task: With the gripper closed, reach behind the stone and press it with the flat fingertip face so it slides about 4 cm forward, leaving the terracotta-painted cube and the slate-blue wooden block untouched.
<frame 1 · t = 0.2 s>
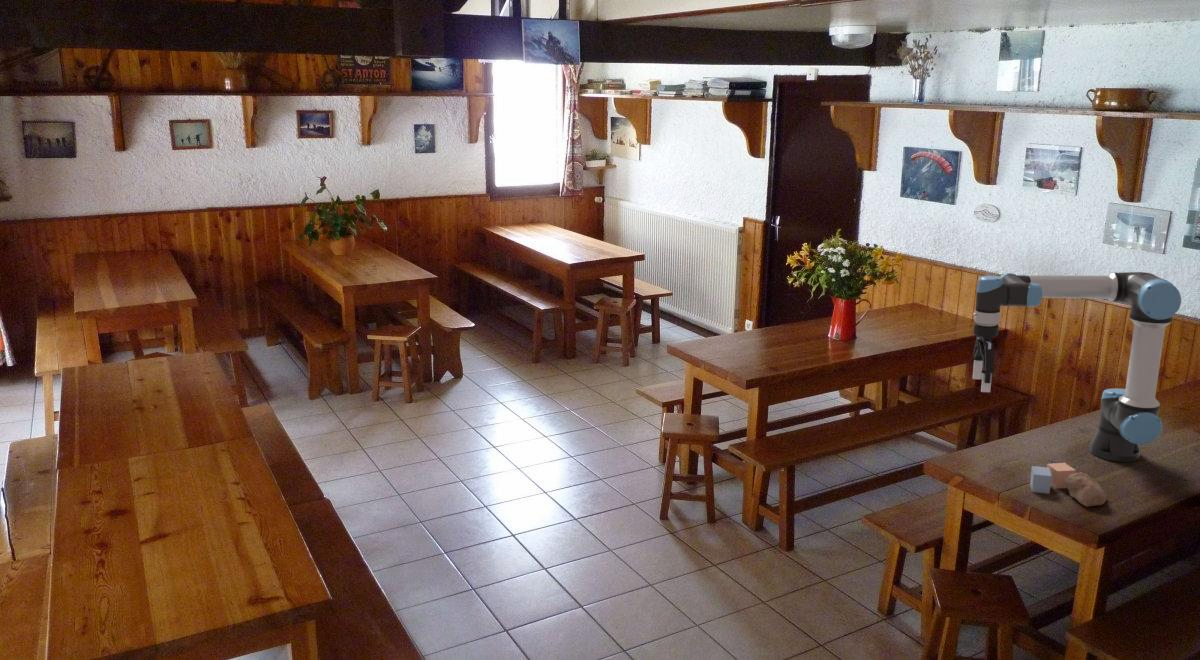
hand: (981, 385, 308), 28 cm above the table, fingers open, 13 cm apart
terracotta block: (1059, 484, 298), on the table
slate block: (1039, 488, 295), on the table
stone: (1087, 500, 287), on the table
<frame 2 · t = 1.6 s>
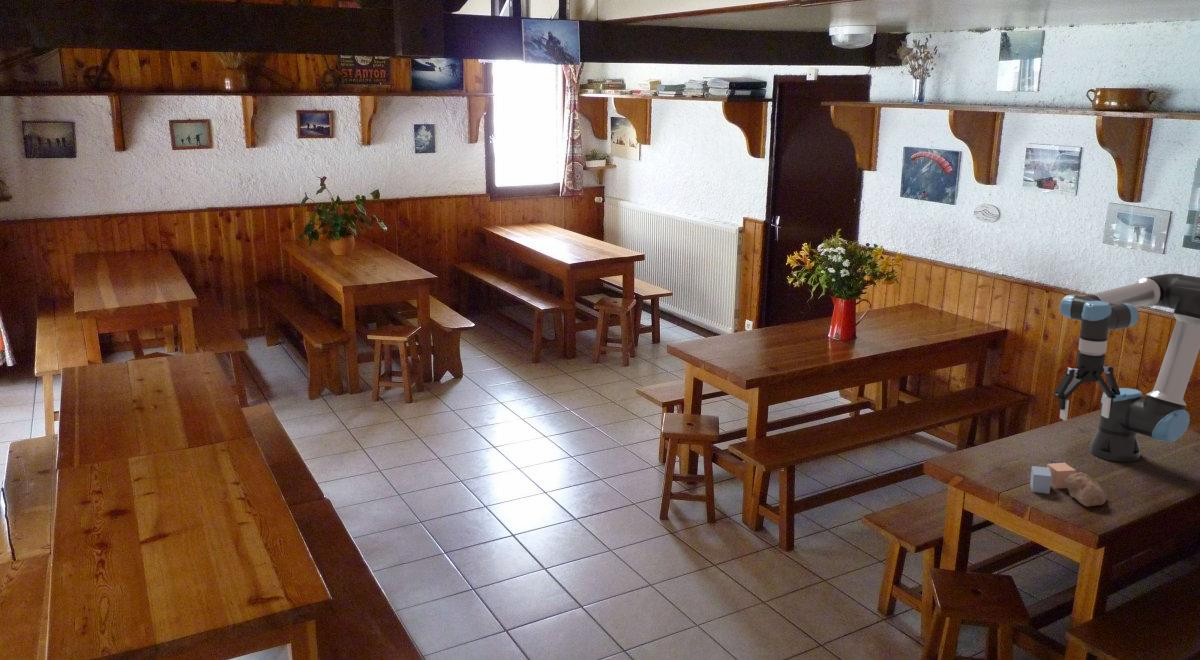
hand: (1084, 418, 287), 24 cm above the table, fingers open, 13 cm apart
nothing on the table moved.
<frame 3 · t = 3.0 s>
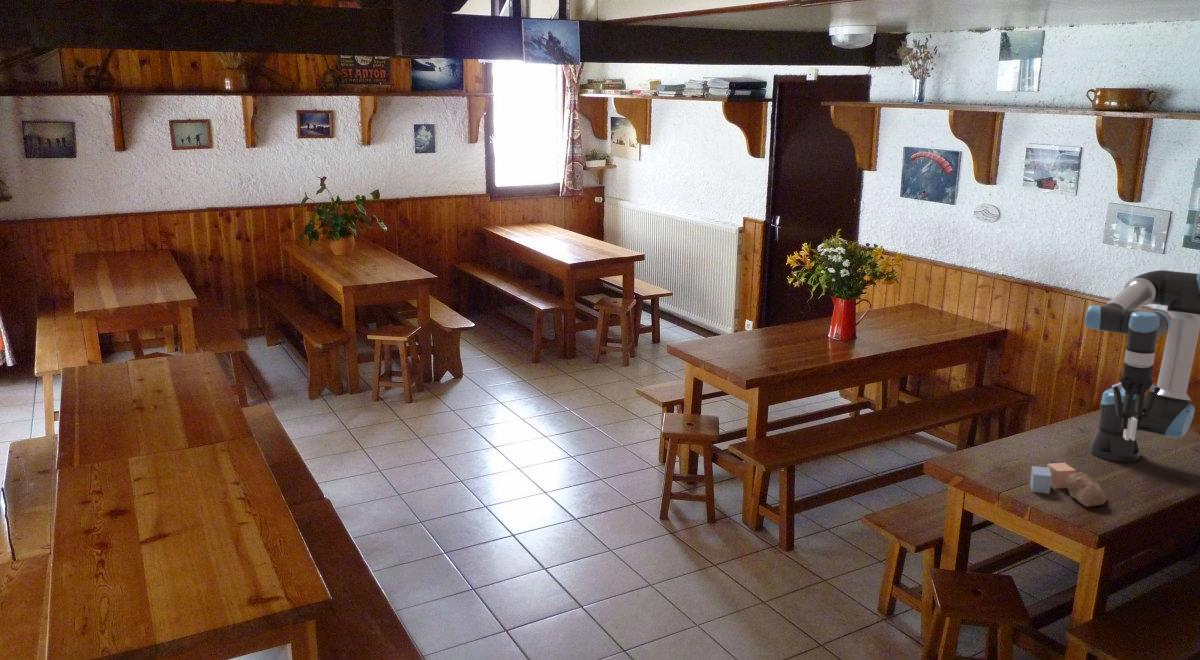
hand: (1128, 438, 280), 20 cm above the table, fingers closed
nothing on the table moved.
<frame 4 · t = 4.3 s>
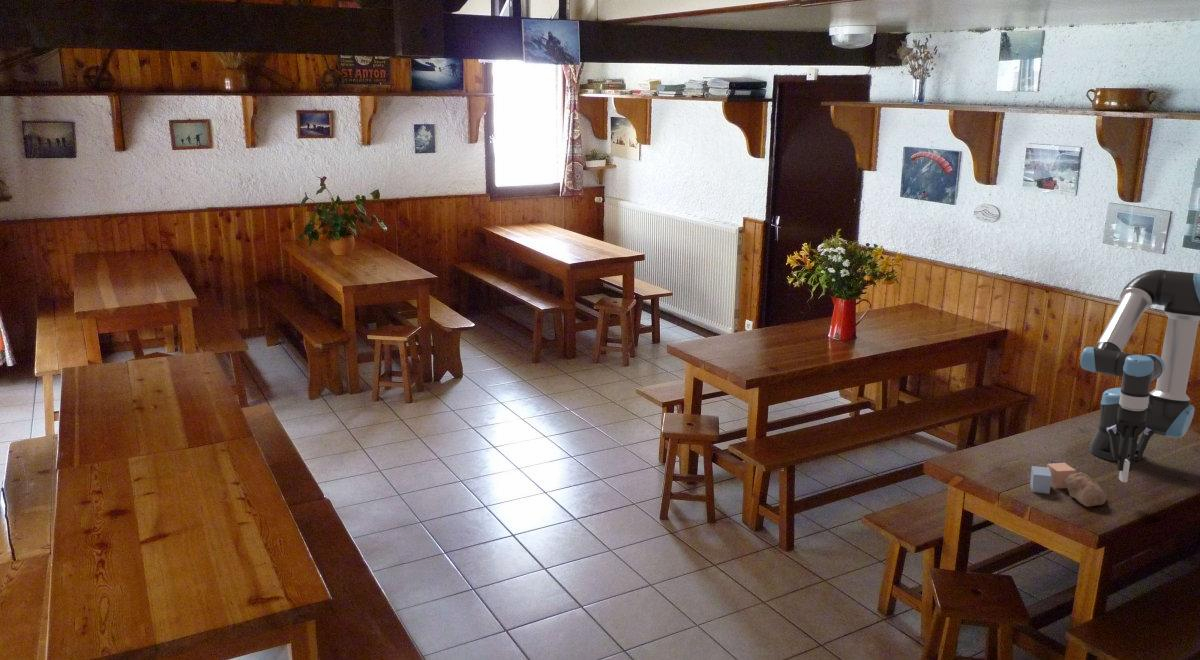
hand: (1122, 480, 283), 7 cm above the table, fingers closed
nothing on the table moved.
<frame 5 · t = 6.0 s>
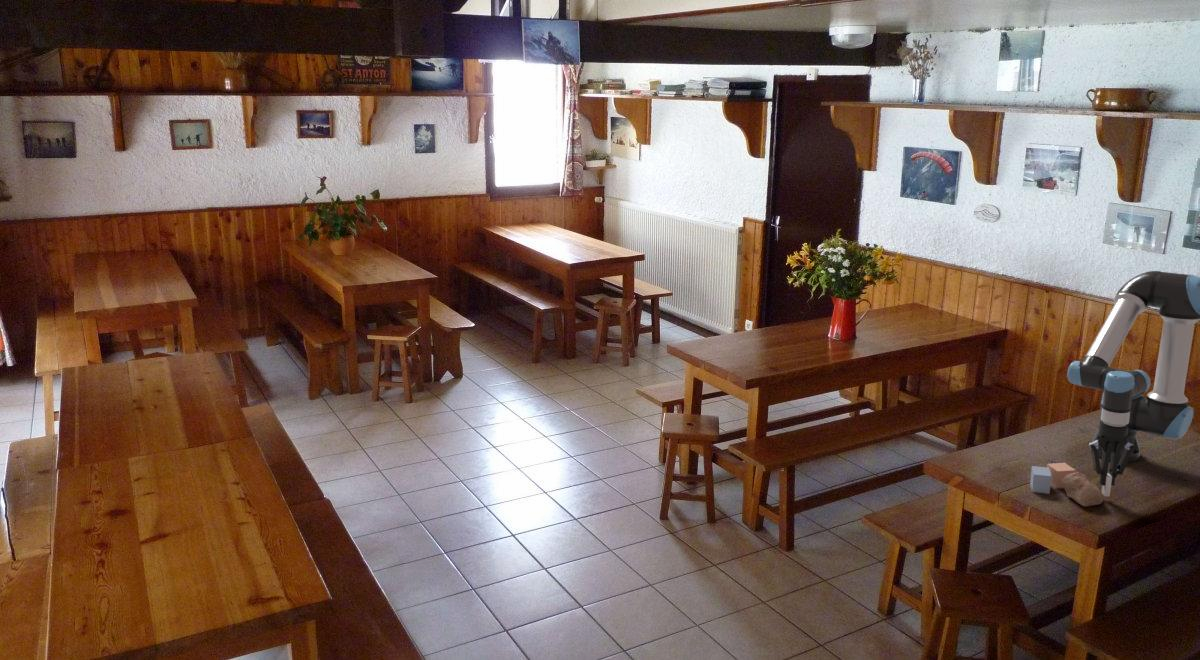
hand: (1105, 494, 285), 2 cm above the table, fingers closed
stone: (1084, 500, 286), on the table, touching gripper
everything else where it was.
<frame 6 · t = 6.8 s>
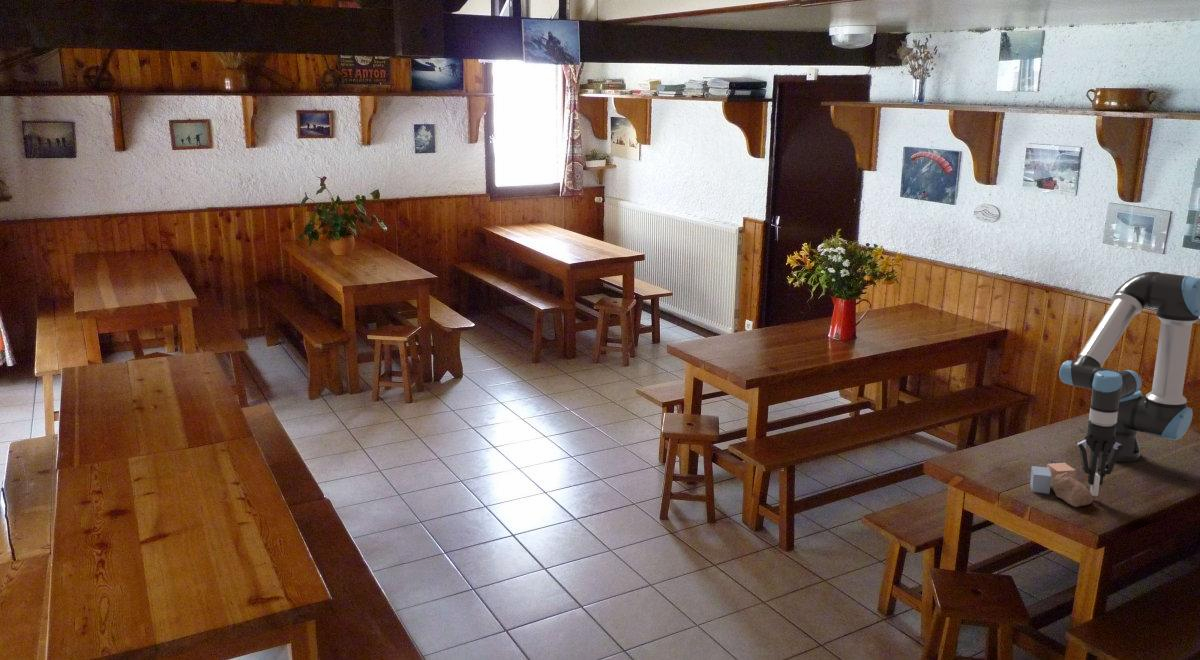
hand: (1093, 494, 286), 2 cm above the table, fingers closed
stone: (1073, 500, 287), on the table, touching gripper
everything else where it was.
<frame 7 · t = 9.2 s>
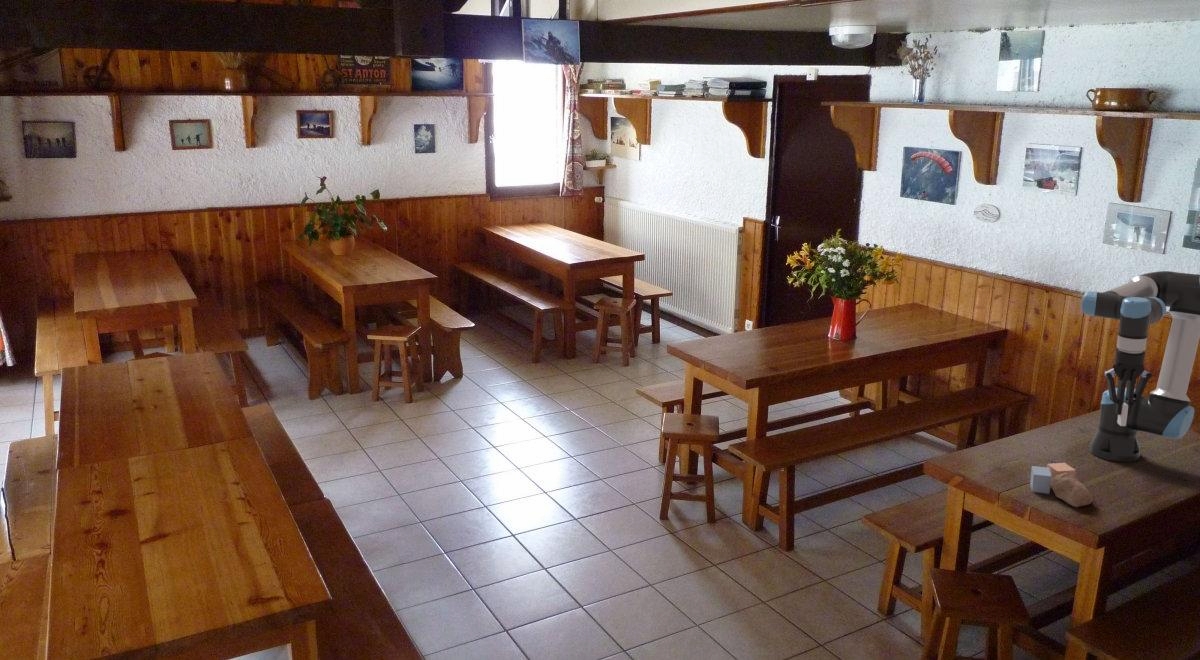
hand: (1121, 424, 281), 24 cm above the table, fingers closed
stone: (1073, 500, 287), on the table
everything else where it was.
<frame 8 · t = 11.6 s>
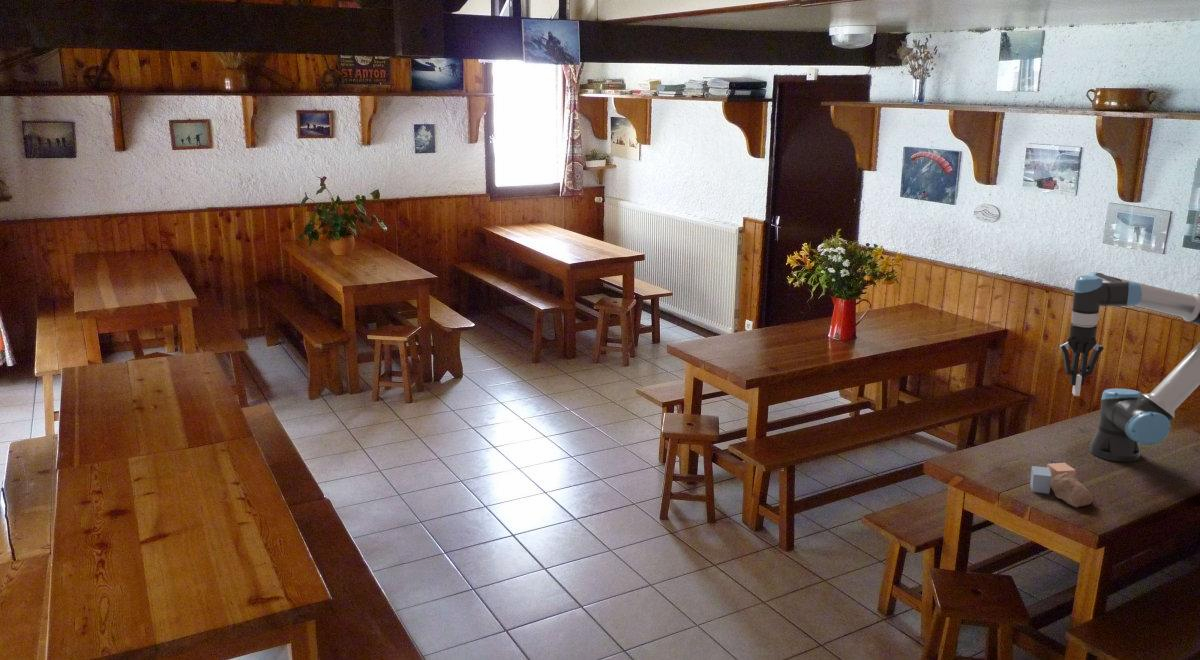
hand: (1075, 394, 301), 26 cm above the table, fingers closed
nothing on the table moved.
at the end: stone moved 4.4 cm from its start; stone inside the target area (1.5 cm from its centre), on the table; slate block moved 0.1 cm from its start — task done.
